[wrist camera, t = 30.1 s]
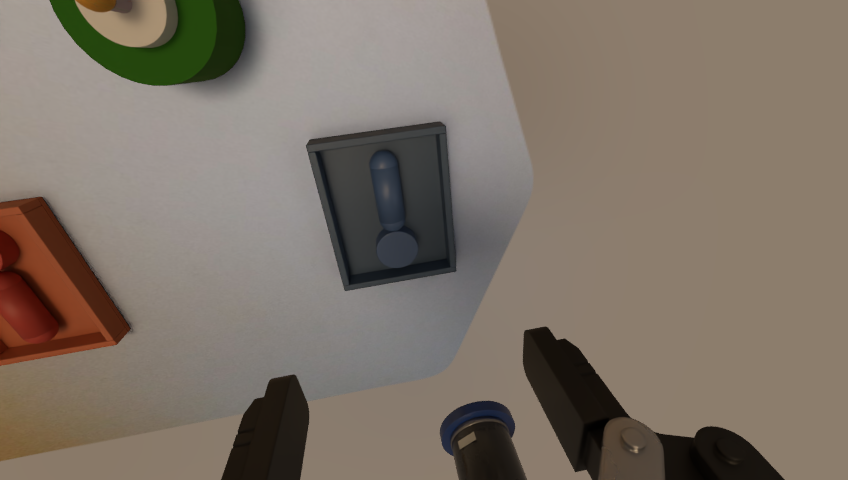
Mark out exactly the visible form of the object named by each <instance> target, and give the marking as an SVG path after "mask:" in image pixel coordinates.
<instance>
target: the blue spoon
mask: <svg viewBox="0 0 848 480" xmlns="http://www.w3.org/2000/svg"><path fill="white" fill-rule="evenodd" d="M369 167H370V173H371V178H372V184H373V189H374V195H375V200H376V206H377V211H378V216H379V221H380V224H381V226H382V227H383V228H384V229H383V230H382V231H381V232H380V233H379V234H378V236H377V239H376V253H377V257H378V259H379V260H380V261H381V262H382V263H383V264H384V265H386V266H388V267H391V268H402V267H405V266H407V265H409V264H410V263H412V262H413V261H414V259H415V258H416V256H417V254H418V244H417V240H416V237H415V235H414V233H413V232H412V231H411V230H410V229H409V228H408V227H406V226H403V225H404V223H405V211H404V204H403V197H402V190H401V183H400V176H399V169H398V163H397V159H396V157H395V156H394V155H393V154H392V153H391V152H389V151H386V150H380V151H377V152H376V153H374V154H373V155H372V157H371V158H370V161H369Z"/></svg>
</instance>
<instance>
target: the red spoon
mask: <svg viewBox="0 0 848 480" xmlns="http://www.w3.org/2000/svg"><path fill="white" fill-rule="evenodd" d="M19 253H20V252H19V248H18V245H17V244H16V242H15V241H14V240H13V239H12V238H11V237H10V236H9V235H8V234H6V233H5V232H3V231H2V230H0V314H1V315H2V317H3V318H4V319H5V320H6V321H7V322H8V323H9V324H10V326H11V327H12V328H13V329H14V330H15V331H16V332H17V333H18V335H19V336H20V337H21V338H22V339H23V340H24V341H26V342H28V343H34V344H38V343H44V342H47V341H49V340H51V339H52V338H53V337H55V336H56V334H57V333H58V331H59V324H58V322H57V321H56V320H55V319H54V317H53V316H52V315H51V314H50V312H49V311H48V310H47V309H46V307H45V306H44V305H43V303H42V302H41V301H40V300H39V298H38V297H37V296H36V295H35V293H34V292H33V291H32V290H31V288H30V287H29V286H28V285H27V283H26V282H25V281H24V280H23V278H22V277H21V276H20V275H18V274H16V273H14V272H10V271H1V270H3V269H4V268H6V267H8V266H10V265H11V264H13V263H14V262H16V261H17V259H18V258H19Z"/></svg>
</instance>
